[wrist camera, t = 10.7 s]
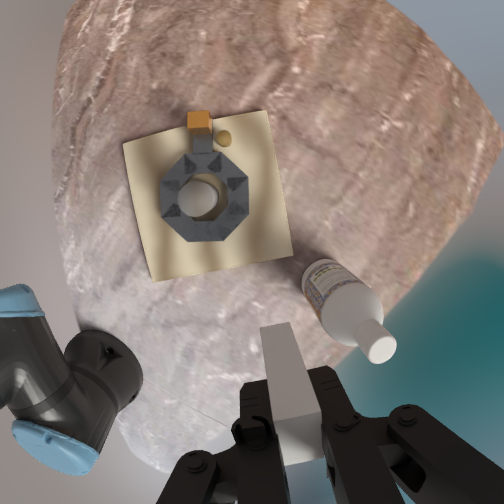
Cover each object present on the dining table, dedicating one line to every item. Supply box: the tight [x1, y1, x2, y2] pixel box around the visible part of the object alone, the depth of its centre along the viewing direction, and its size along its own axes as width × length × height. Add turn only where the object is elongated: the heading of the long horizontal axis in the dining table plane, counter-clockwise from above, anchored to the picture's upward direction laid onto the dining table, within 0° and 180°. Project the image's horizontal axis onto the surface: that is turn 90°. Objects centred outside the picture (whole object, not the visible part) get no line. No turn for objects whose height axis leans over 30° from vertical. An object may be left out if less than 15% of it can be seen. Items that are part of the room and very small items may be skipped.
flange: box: [160, 110, 249, 242], centre depth 34 cm, size 16×11×6 cm
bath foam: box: [301, 259, 396, 364], centre depth 32 cm, size 7×7×20 cm
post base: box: [123, 110, 294, 282], centre depth 33 cm, size 20×20×10 cm
